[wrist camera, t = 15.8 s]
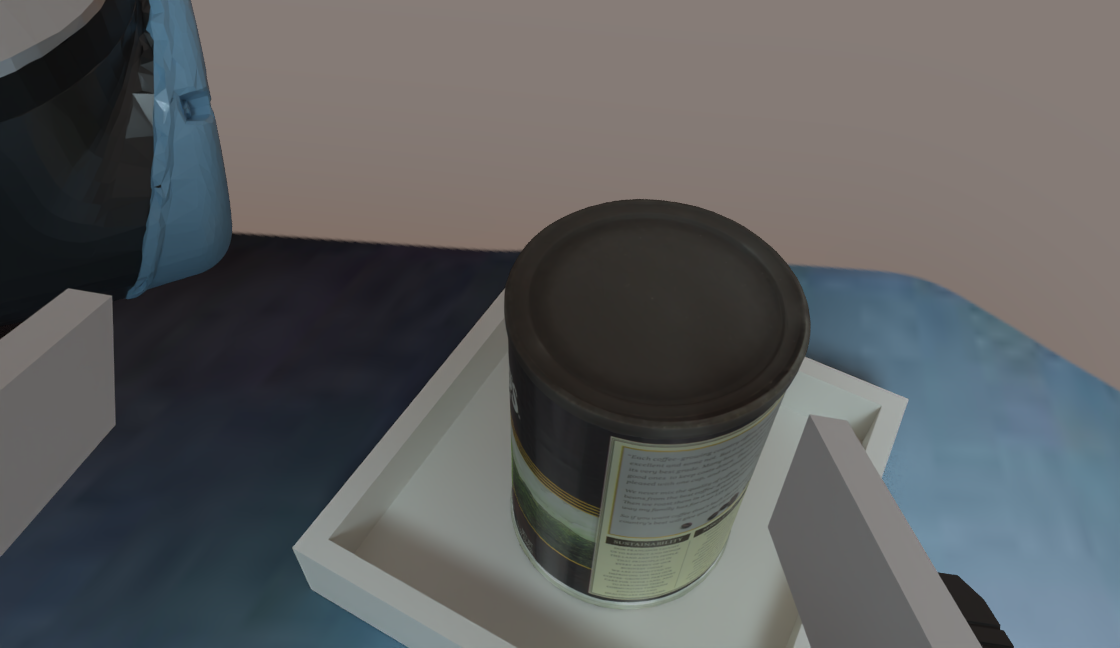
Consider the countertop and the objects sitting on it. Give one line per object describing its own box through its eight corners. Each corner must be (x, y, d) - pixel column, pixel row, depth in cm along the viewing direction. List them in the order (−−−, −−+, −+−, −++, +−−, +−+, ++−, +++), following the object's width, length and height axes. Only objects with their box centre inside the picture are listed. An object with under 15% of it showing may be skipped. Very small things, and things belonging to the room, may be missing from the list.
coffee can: (474, 567, 37) (454, 369, 27) (553, 388, 44) (562, 170, 33) (705, 648, 35) (784, 469, 25) (752, 448, 42) (830, 237, 31)
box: (310, 589, 37) (292, 547, 34) (537, 297, 49) (538, 247, 46) (740, 845, 32) (763, 823, 29) (881, 445, 43) (908, 399, 40)
